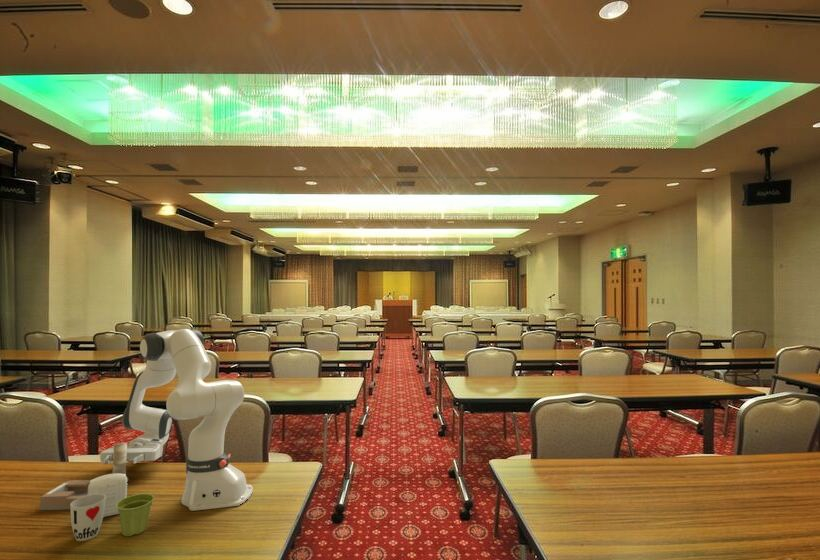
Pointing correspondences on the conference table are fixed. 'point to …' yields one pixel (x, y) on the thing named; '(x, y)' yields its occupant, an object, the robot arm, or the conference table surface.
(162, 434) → the robot arm
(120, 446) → the beige tall cylinder
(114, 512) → the photo printer
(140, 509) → the plant pot
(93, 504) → the cup
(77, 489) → the keyhole dock
